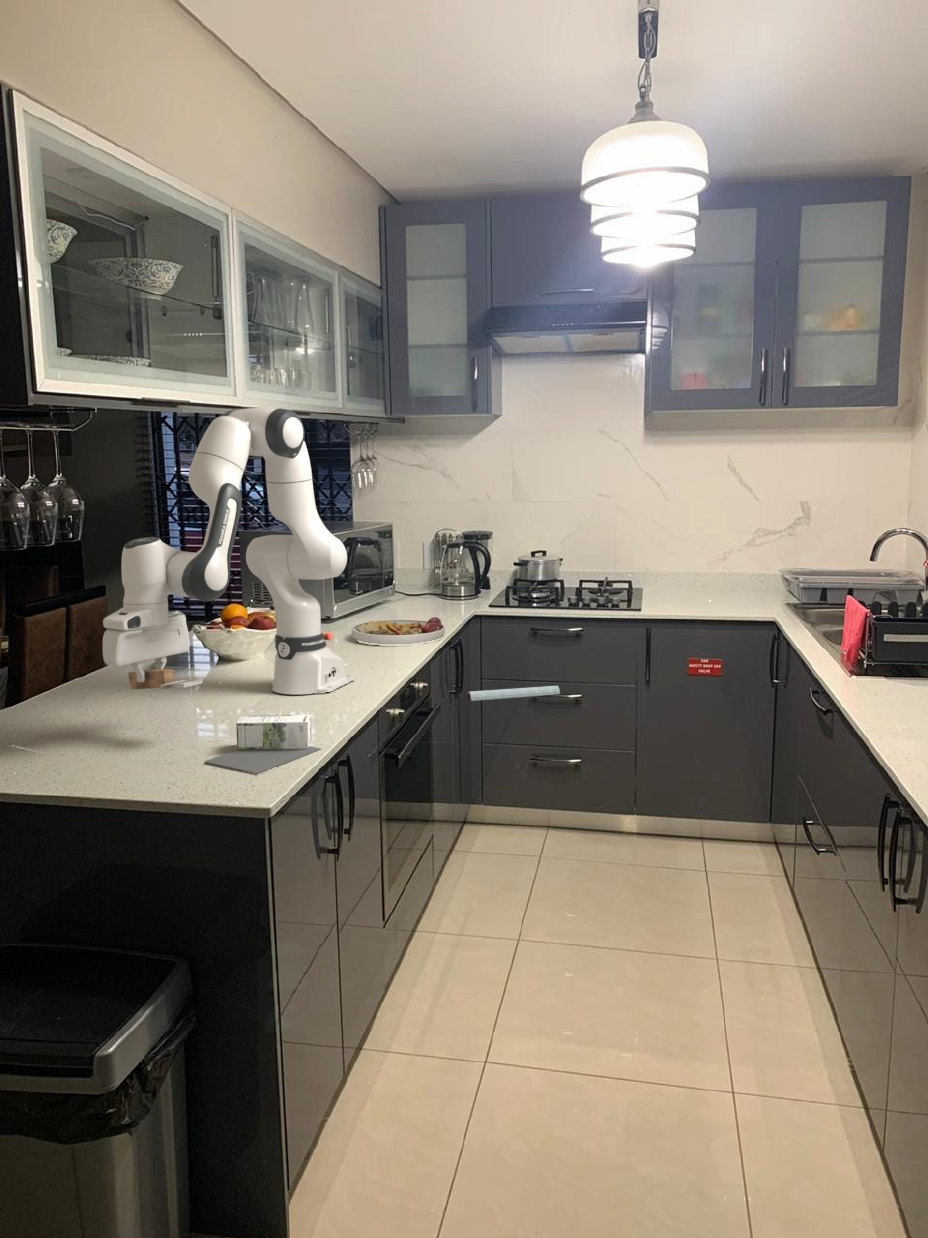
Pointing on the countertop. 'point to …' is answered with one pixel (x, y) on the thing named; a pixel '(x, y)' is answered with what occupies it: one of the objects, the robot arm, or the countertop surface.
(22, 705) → the countertop surface
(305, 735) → the syrup box
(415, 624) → the plate of food
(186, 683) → the tan wooden bar
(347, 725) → the countertop surface
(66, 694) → the countertop surface
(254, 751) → the mat
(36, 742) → the countertop surface
